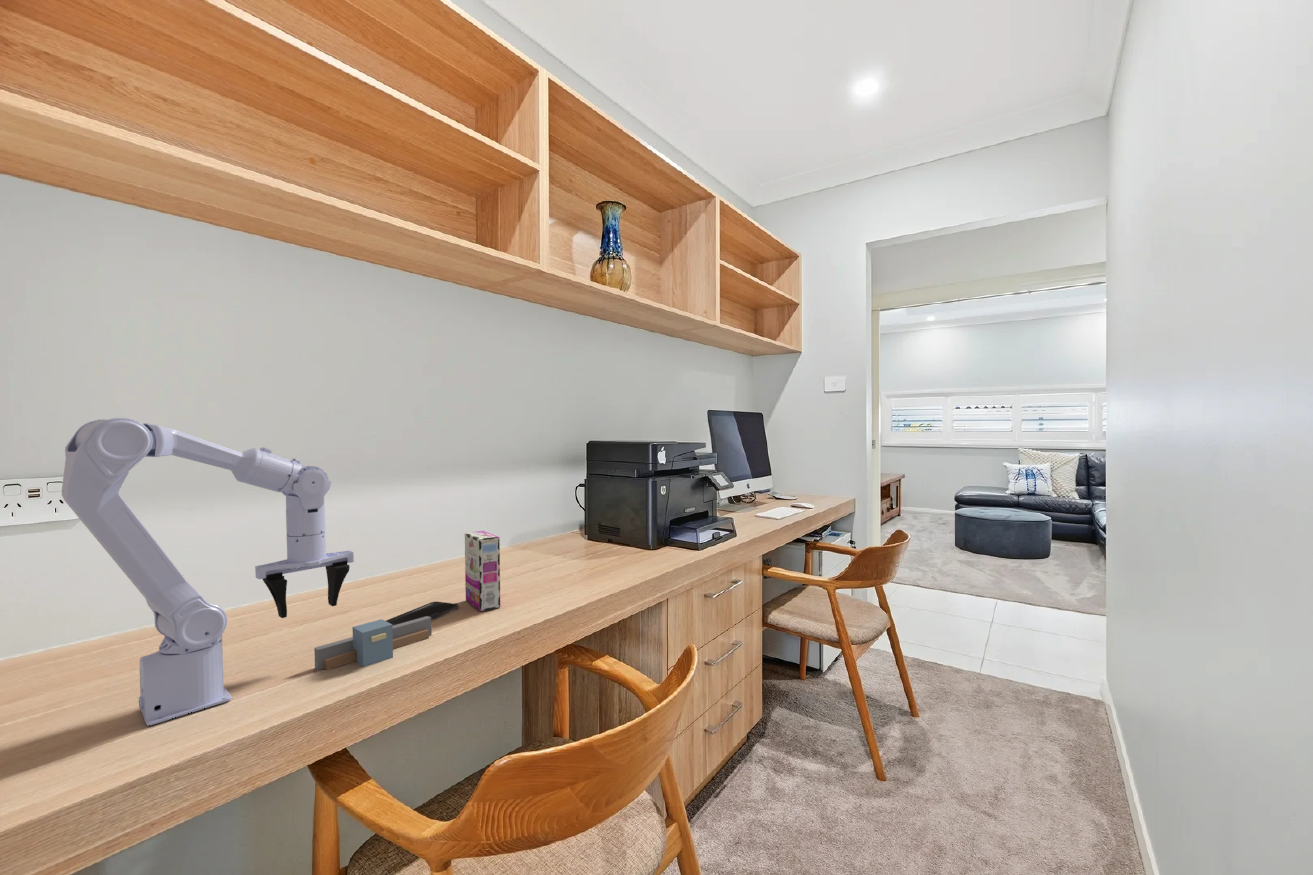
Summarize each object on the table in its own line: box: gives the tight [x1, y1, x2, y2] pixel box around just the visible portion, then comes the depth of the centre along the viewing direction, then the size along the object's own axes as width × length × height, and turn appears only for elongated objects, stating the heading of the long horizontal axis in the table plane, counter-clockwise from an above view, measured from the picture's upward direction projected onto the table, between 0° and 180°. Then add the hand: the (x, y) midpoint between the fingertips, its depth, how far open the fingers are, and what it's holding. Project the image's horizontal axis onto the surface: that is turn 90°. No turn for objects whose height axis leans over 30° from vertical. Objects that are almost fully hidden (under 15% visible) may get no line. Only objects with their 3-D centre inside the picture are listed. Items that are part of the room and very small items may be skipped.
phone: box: [385, 601, 459, 626], centre depth 118 cm, size 8×1×15 cm
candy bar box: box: [464, 530, 501, 612], centre depth 126 cm, size 11×5×16 cm, turn 37°
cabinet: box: [352, 618, 394, 668], centre depth 96 cm, size 5×5×6 cm
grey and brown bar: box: [313, 616, 433, 671], centre depth 99 cm, size 20×3×4 cm, turn 139°
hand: (308, 610), depth 94 cm, fingers open, 7 cm apart
